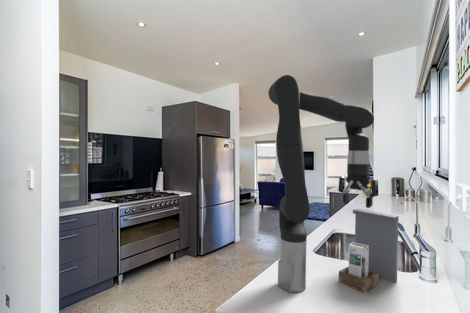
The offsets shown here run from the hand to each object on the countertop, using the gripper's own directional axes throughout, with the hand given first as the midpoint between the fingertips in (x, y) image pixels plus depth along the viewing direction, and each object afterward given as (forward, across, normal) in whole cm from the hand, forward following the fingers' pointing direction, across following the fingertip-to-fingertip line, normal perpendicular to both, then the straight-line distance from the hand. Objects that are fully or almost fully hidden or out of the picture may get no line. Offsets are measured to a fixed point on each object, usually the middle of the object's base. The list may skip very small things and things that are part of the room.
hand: (357, 205), depth 98 cm
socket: (+29, +1, 0) cm, 29 cm away
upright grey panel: (+29, +1, +12) cm, 31 cm away
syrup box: (+29, +1, 0) cm, 29 cm away
